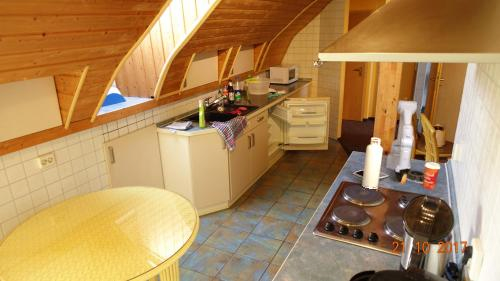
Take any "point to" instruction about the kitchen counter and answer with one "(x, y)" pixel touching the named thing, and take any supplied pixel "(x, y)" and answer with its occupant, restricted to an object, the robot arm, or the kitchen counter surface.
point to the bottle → (372, 164)
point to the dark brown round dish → (415, 175)
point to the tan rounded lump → (403, 179)
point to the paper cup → (430, 175)
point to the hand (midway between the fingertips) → (401, 180)
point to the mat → (415, 181)
